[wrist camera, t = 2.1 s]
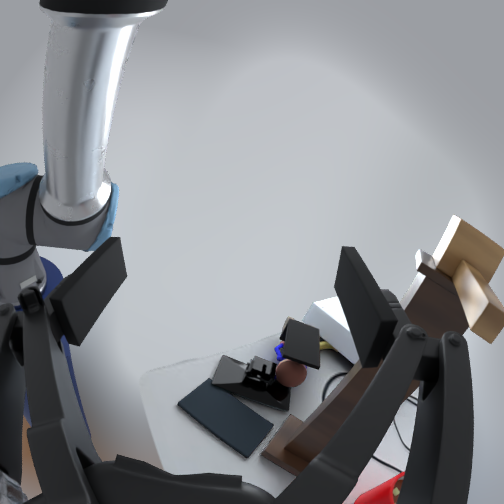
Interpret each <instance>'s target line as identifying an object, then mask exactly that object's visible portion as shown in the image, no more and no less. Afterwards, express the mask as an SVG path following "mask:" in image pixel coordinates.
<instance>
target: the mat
mask: <svg viewBox="0 0 504 504" xmlns="http://www.w3.org/2000/svg"><path fill="white" fill-rule="evenodd" d="M212 381H213V380H211V379H210V378H208V379H207V380H206V381H205V382H203V383H202V384H201V385H200V386H198V387H197V388H196V389H195V390H193V391H192V392H191V393H190V394H188V395H187V396H186V397H185V398H183V399H182V400H181V401H179V402H178V405H179V406H180V407H181V408H182V409H183V410H185V411H186V412H187V413H188V414H189V415H191V416H192V417H193V418H194V419H195V420H197V421H198V422H199V423H200V424H202V425H203V426H204V427H205V428H207V429H208V430H209V431H210V432H212V433H213V434H214V435H216V436H217V437H218V438H220V439H221V440H222V441H224V442H225V443H226V444H228V445H229V446H230V447H232V448H233V449H235V450H236V451H238V452H239V453H240V454H242V455H243V456H245V457H246V458H248V457H249V456H250V454H251V453H252V452H253V451H254V450H255V448H256V447H257V446H258V445H259V443H260V442H261V441H262V440H263V438H264V437H265V436H266V435H267V433H268V432H269V431H270V429H271V428H272V427H273V426H274V425H273V424H272V423H270V422H269V421H267V420H266V419H264V418H263V417H261V416H260V415H259V414H257V413H256V412H254V411H253V410H251V409H250V408H249V407H247V406H246V405H244V404H243V403H242V402H240V401H239V400H237V399H236V398H235V397H233V396H232V395H231V394H229V393H228V392H227V391H225V390H223V389H220V388H218V387H215V386H213V385H212Z"/></svg>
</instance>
